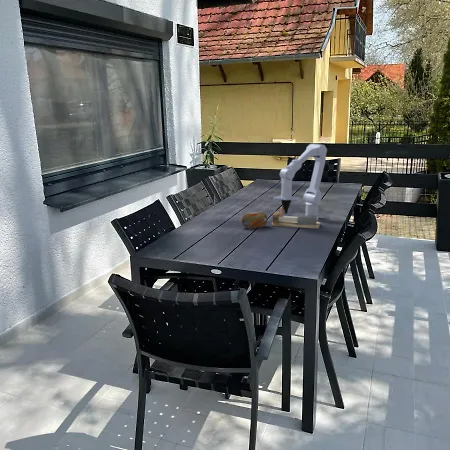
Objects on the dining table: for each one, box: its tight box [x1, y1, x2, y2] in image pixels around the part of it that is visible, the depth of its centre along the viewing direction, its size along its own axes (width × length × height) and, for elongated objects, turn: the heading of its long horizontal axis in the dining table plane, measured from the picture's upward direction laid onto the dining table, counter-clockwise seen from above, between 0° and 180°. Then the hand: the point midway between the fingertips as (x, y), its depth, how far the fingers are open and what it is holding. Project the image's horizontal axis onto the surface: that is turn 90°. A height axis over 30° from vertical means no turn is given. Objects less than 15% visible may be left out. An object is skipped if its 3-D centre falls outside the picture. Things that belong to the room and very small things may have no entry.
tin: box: [240, 211, 268, 229], centre depth 260 cm, size 15×3×8 cm, turn 105°
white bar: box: [278, 206, 298, 222], centre depth 264 cm, size 3×16×8 cm, turn 75°
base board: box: [270, 221, 321, 229], centre depth 264 cm, size 10×26×1 cm, turn 75°
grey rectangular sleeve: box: [297, 214, 317, 225], centre depth 262 cm, size 5×10×4 cm, turn 75°
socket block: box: [272, 211, 281, 224], centre depth 266 cm, size 7×3×5 cm, turn 165°
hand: (286, 213), depth 264 cm, fingers closed
